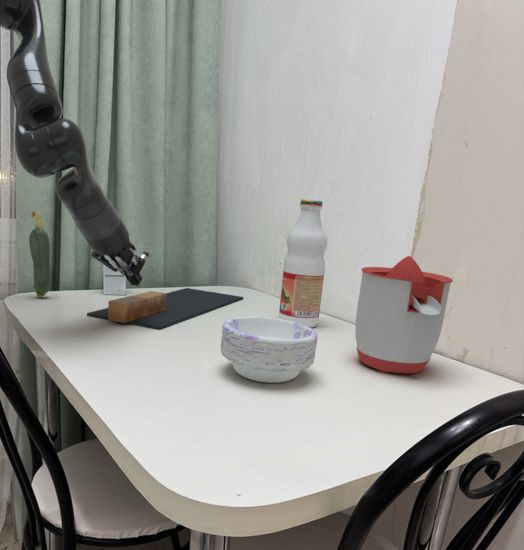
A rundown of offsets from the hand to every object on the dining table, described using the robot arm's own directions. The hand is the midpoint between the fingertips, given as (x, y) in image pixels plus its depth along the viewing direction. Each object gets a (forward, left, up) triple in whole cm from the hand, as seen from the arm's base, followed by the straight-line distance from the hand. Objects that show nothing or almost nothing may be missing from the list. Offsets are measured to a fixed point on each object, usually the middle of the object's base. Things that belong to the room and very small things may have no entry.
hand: (137, 282), depth 108 cm
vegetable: (-14, +24, -8) cm, 29 cm away
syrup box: (+5, +28, -8) cm, 29 cm away
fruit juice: (+35, -13, -8) cm, 38 cm away
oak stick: (-6, -4, -5) cm, 9 cm away
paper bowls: (+7, -40, -8) cm, 42 cm away
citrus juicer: (+32, -45, -8) cm, 56 cm away
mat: (+14, +10, -8) cm, 19 cm away
